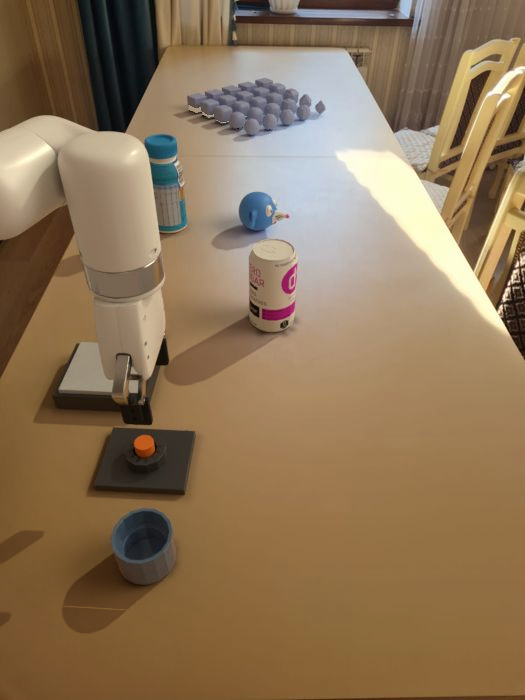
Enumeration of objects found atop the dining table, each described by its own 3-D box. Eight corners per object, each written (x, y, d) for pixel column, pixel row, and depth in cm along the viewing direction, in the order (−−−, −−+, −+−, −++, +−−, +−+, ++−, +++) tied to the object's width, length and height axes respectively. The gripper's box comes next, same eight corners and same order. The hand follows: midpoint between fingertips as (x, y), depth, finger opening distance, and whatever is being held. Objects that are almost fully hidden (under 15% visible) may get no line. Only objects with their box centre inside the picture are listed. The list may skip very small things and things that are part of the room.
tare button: (133, 457, 73) (131, 449, 71) (138, 442, 74) (136, 434, 73) (152, 458, 72) (151, 450, 71) (156, 443, 74) (155, 435, 73)
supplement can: (301, 315, 101) (306, 244, 91) (280, 340, 95) (283, 267, 85) (264, 302, 104) (265, 232, 94) (241, 325, 98) (239, 253, 88)
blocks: (264, 91, 204) (264, 77, 201) (329, 115, 185) (331, 100, 181) (187, 110, 187) (186, 95, 184) (250, 139, 168) (250, 122, 164)
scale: (56, 409, 82) (50, 391, 80) (80, 356, 91) (75, 339, 89) (147, 413, 82) (143, 395, 80) (162, 360, 91) (159, 342, 89)
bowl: (112, 585, 62) (103, 561, 59) (126, 531, 67) (119, 506, 64) (171, 588, 62) (166, 565, 58) (180, 534, 67) (176, 509, 63)
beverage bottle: (164, 238, 121) (153, 150, 108) (144, 224, 126) (132, 137, 113) (195, 227, 125) (188, 140, 112) (175, 213, 130) (166, 129, 117)
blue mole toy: (281, 246, 119) (282, 211, 114) (231, 236, 122) (229, 202, 117) (296, 221, 128) (298, 187, 122) (249, 213, 131) (248, 180, 125)
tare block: (95, 490, 72) (90, 477, 70) (114, 432, 79) (110, 418, 77) (184, 495, 71) (183, 481, 69) (195, 436, 79) (194, 422, 77)
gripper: (110, 224, 59) (133, 343, 70) (56, 321, 46) (95, 448, 57) (178, 226, 59) (191, 345, 70) (143, 325, 46) (165, 451, 57)
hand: (148, 391), depth 64 cm, fingers open, 9 cm apart
